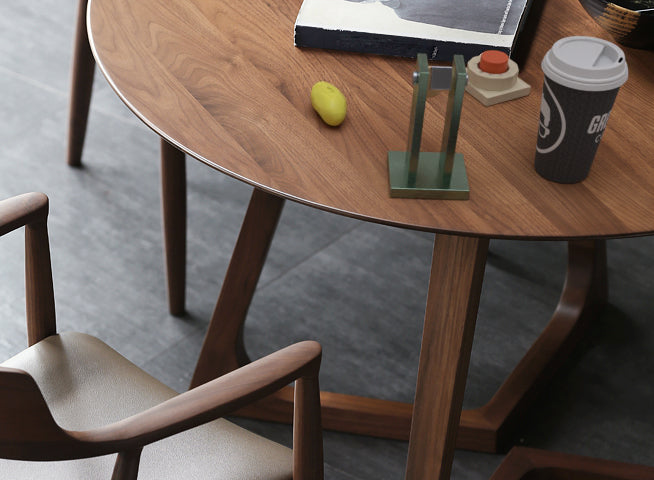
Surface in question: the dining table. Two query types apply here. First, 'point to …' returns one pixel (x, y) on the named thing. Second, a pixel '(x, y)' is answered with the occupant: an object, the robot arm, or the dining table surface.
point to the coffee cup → (576, 105)
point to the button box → (494, 83)
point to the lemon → (329, 103)
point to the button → (493, 62)
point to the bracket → (431, 167)
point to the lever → (439, 80)
